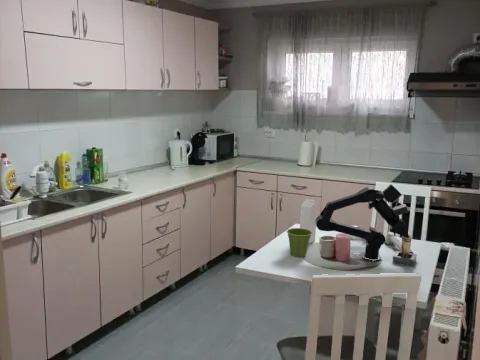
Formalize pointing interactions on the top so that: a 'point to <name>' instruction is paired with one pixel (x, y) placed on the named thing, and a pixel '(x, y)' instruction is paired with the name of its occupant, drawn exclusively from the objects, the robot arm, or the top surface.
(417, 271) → the top surface
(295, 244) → the plant pot
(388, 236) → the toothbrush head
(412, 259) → the collar
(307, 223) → the milk
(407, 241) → the disc
